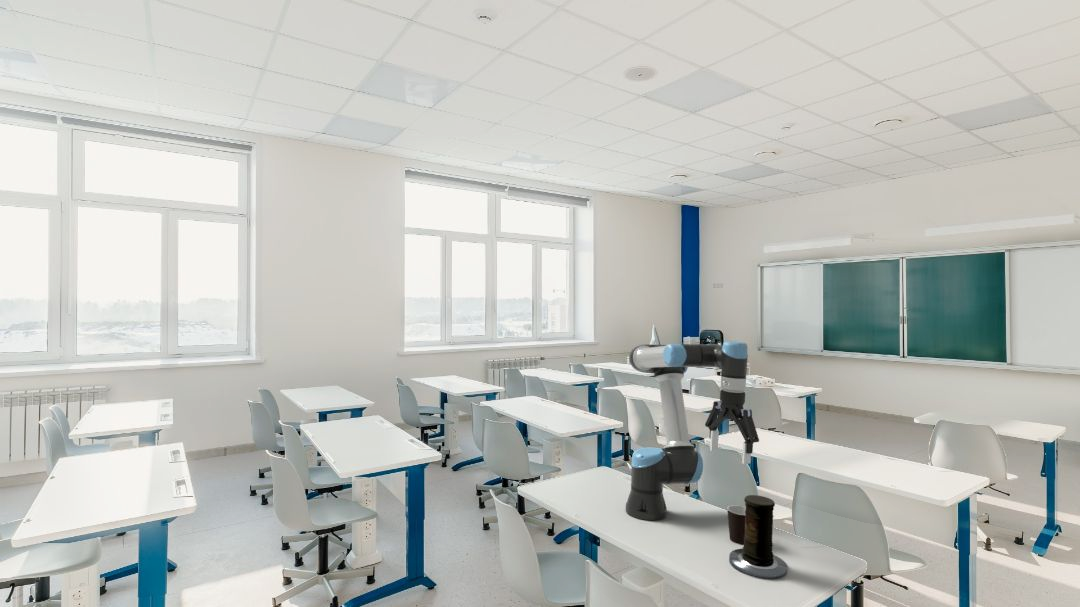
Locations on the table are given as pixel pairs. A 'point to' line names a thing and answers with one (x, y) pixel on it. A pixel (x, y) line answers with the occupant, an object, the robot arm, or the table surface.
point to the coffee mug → (736, 523)
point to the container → (758, 531)
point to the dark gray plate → (758, 567)
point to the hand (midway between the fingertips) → (729, 456)
